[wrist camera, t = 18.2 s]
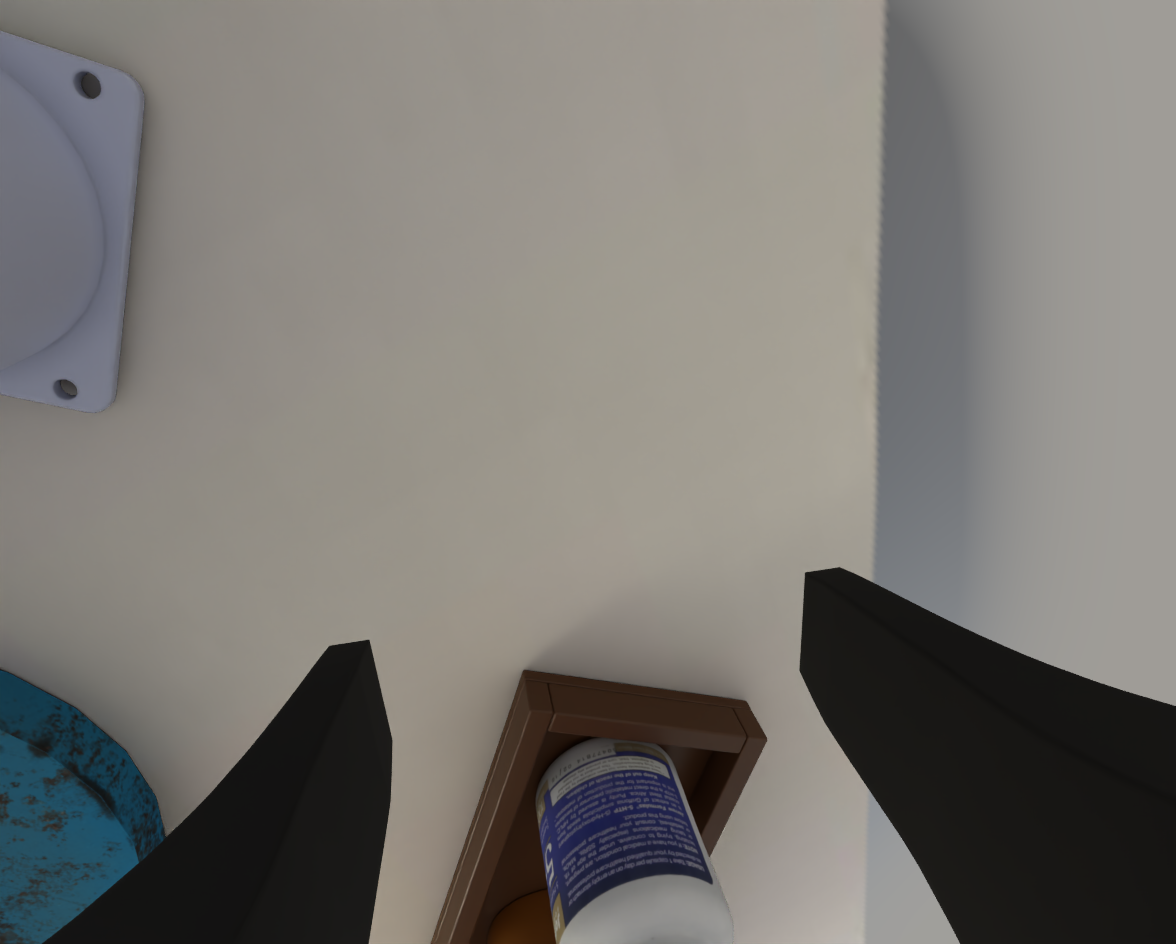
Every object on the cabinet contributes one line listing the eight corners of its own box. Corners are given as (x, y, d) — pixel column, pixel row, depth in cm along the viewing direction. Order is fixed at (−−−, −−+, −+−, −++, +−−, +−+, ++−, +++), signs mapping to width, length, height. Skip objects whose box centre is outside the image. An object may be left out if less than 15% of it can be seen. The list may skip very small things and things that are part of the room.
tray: (377, 1099, 32) (373, 1155, 31) (523, 669, 25) (529, 710, 23) (561, 1093, 35) (568, 1144, 33) (746, 700, 27) (768, 739, 25)
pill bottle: (505, 779, 26) (536, 1062, 18) (634, 704, 26) (724, 958, 18) (579, 860, 28) (636, 1142, 20) (697, 792, 28) (803, 1050, 20)
